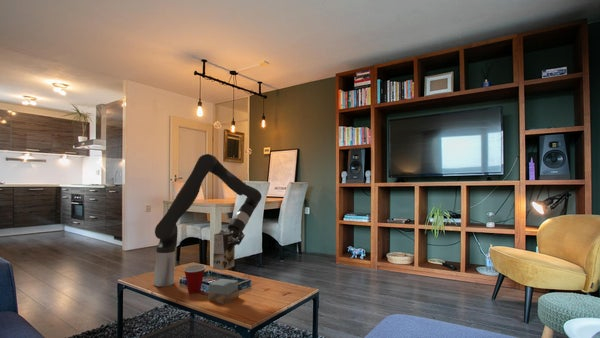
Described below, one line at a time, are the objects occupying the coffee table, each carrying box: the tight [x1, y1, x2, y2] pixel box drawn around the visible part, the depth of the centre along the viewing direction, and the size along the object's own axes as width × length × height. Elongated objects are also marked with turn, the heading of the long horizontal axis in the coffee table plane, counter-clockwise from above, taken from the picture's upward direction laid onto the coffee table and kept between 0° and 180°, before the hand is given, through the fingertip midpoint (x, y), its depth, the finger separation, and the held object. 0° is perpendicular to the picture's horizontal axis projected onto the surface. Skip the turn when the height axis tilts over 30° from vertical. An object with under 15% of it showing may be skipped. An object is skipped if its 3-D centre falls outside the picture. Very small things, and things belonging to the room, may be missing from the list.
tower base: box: [207, 289, 240, 305], centre depth 147 cm, size 10×10×4 cm
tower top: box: [208, 278, 239, 295], centre depth 147 cm, size 10×10×4 cm
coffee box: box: [212, 232, 236, 271], centre depth 149 cm, size 9×6×16 cm
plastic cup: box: [182, 263, 207, 294], centre depth 157 cm, size 11×11×12 cm
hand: (222, 249), depth 147 cm, fingers closed on coffee box, 7 cm apart
